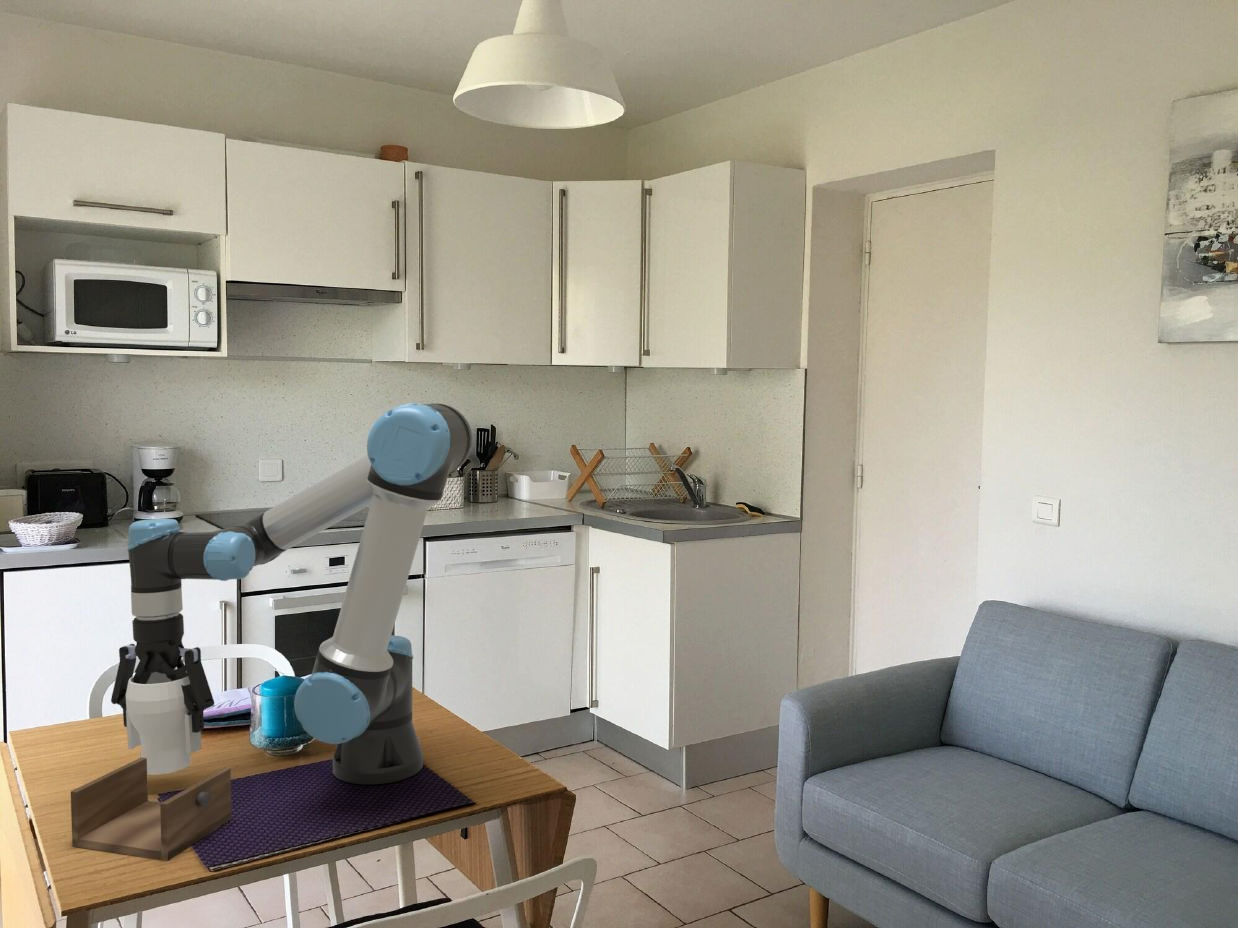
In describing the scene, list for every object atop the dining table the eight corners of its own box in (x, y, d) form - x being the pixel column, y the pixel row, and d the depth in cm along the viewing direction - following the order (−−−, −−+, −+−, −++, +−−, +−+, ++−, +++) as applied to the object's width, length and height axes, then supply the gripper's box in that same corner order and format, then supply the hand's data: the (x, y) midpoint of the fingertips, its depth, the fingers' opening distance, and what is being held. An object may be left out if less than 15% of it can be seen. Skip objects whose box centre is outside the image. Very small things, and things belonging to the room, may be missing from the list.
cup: (180, 750, 174) (176, 663, 173) (213, 763, 167) (208, 673, 166) (117, 768, 166) (112, 678, 165) (149, 783, 159) (143, 689, 158)
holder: (237, 820, 154) (236, 768, 153) (173, 861, 140) (172, 805, 140) (137, 806, 159) (135, 756, 158) (66, 845, 145) (64, 790, 144)
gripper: (234, 612, 165) (240, 745, 167) (115, 607, 171) (122, 736, 173) (203, 623, 158) (210, 762, 160) (81, 617, 164) (88, 751, 166)
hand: (164, 748), depth 166 cm, fingers closed on cup, 10 cm apart
